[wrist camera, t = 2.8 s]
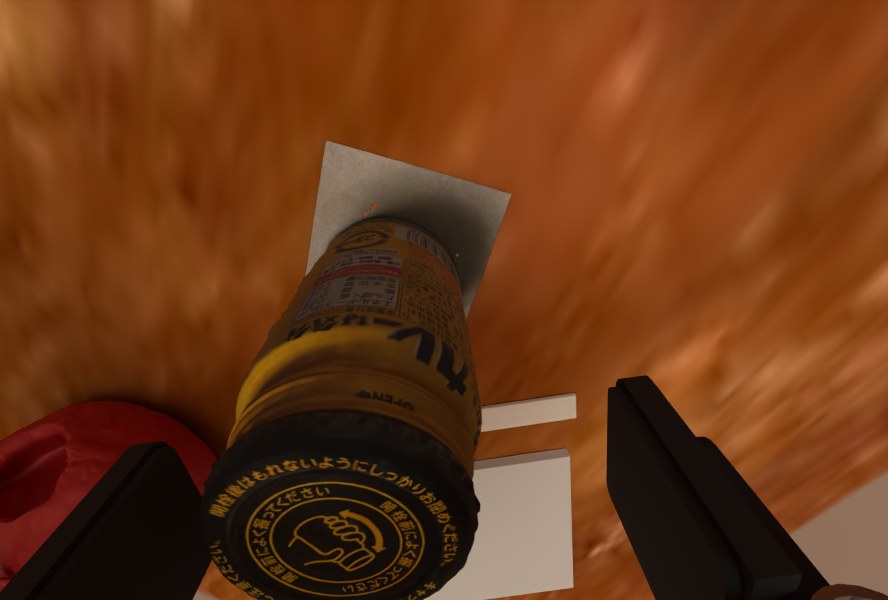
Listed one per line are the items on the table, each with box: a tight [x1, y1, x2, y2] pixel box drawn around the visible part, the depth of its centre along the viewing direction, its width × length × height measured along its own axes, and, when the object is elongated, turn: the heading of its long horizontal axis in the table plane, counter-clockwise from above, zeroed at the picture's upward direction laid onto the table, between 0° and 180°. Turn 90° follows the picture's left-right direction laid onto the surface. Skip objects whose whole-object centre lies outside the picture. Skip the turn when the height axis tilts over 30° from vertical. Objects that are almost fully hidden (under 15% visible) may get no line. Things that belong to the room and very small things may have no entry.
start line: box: [481, 393, 576, 432], centre depth 22 cm, size 2×17×1 cm, turn 98°
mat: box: [424, 448, 573, 600], centre depth 26 cm, size 12×16×1 cm
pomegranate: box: [0, 400, 217, 592], centre depth 18 cm, size 10×10×9 cm
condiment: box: [198, 141, 511, 600], centre depth 13 cm, size 7×8×12 cm
